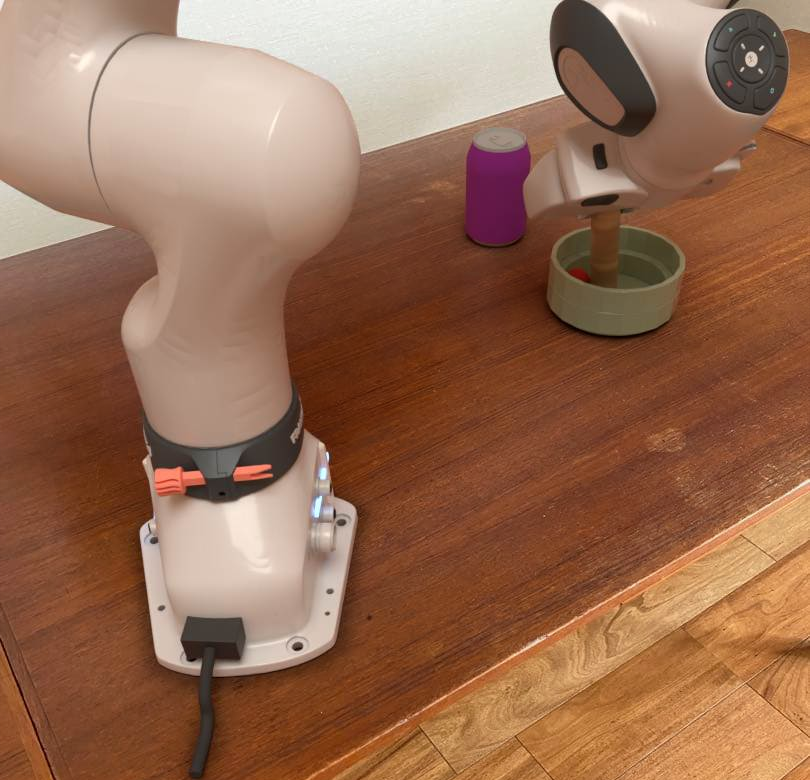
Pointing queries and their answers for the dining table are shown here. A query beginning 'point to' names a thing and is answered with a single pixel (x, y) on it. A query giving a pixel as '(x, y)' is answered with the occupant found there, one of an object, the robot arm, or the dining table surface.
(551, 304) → the bowl
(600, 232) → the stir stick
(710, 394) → the dining table surface
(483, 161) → the beverage can
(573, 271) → the berry
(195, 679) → the dining table surface
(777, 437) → the dining table surface
